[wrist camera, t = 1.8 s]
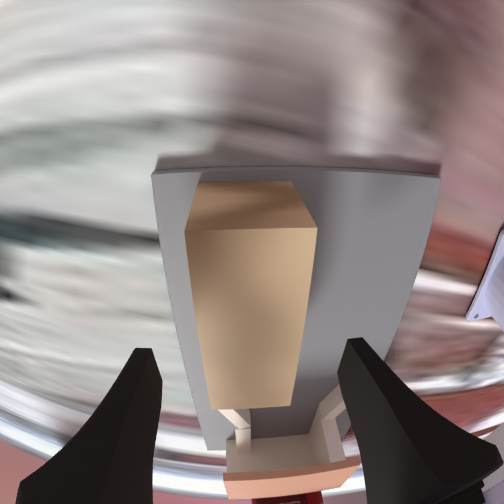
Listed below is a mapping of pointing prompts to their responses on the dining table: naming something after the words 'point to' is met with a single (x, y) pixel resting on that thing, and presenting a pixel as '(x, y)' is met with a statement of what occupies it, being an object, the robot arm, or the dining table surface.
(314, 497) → the canned food
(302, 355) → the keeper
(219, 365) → the tan cardboard block
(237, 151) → the dining table surface
